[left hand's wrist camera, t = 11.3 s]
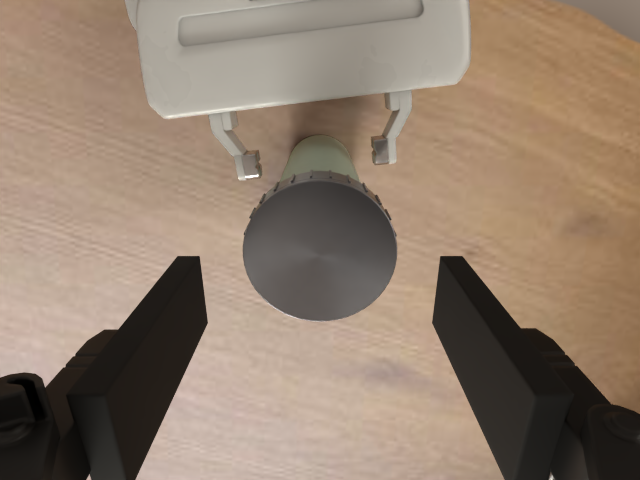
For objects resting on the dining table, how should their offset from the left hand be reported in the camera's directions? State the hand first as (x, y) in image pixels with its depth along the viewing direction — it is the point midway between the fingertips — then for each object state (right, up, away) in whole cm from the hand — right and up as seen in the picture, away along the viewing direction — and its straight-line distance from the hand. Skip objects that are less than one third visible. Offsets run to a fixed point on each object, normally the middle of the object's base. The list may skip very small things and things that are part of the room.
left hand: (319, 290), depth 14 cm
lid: (0, +1, +3) cm, 3 cm away
